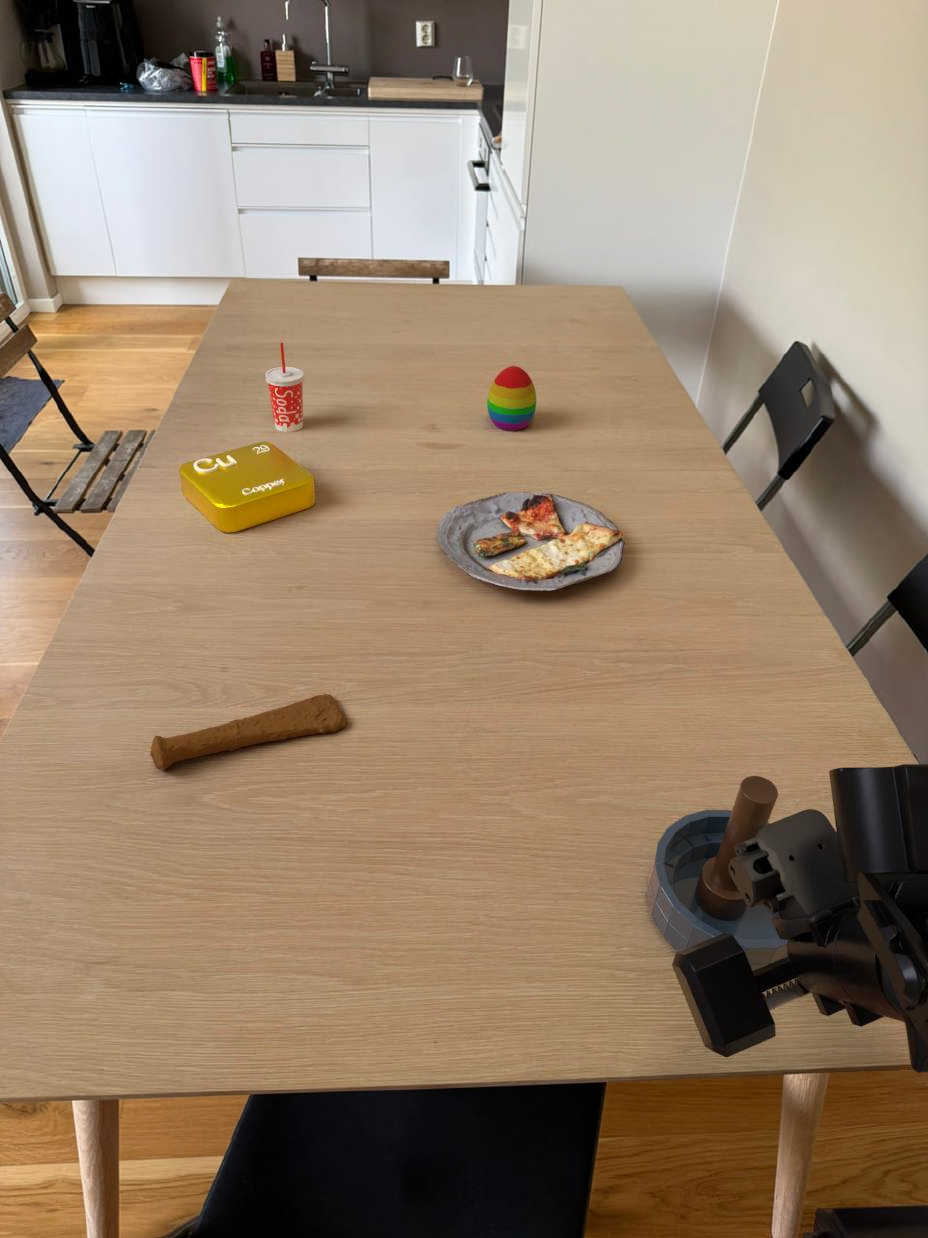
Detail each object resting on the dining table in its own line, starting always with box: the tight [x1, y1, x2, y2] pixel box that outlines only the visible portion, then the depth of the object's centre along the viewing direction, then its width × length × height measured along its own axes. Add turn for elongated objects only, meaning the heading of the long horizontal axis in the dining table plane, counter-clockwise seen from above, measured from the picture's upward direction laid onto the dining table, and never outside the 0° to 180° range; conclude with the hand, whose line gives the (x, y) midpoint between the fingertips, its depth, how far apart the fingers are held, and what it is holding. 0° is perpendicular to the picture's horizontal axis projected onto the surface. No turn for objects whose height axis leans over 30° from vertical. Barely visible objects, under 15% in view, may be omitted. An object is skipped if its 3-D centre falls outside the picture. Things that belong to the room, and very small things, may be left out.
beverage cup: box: [264, 342, 305, 433], centre depth 143 cm, size 6×6×14 cm
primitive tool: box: [149, 693, 348, 772], centre depth 89 cm, size 19×6×4 cm, turn 119°
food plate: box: [436, 491, 626, 592], centre depth 119 cm, size 25×23×4 cm
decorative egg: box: [486, 365, 537, 431], centre depth 148 cm, size 8×8×10 cm
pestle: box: [695, 775, 779, 920], centre depth 72 cm, size 4×4×14 cm
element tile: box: [178, 441, 316, 534], centre depth 127 cm, size 15×15×5 cm
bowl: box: [645, 809, 788, 971], centre depth 75 cm, size 14×14×5 cm
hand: (774, 942), depth 64 cm, fingers open, 9 cm apart
